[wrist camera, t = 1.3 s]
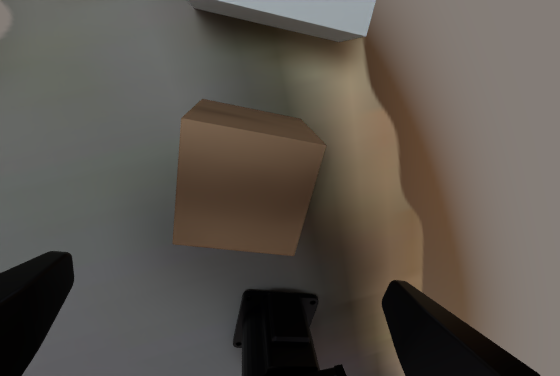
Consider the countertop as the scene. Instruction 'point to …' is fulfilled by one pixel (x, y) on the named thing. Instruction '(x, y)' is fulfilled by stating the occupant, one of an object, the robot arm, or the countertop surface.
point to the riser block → (300, 15)
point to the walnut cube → (244, 179)
